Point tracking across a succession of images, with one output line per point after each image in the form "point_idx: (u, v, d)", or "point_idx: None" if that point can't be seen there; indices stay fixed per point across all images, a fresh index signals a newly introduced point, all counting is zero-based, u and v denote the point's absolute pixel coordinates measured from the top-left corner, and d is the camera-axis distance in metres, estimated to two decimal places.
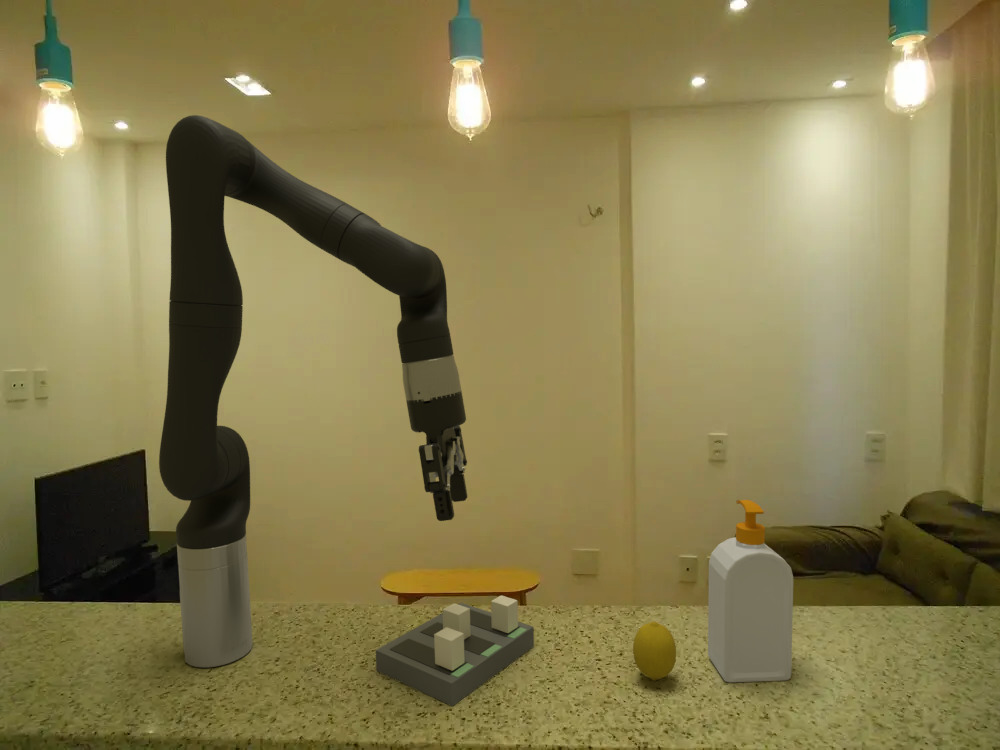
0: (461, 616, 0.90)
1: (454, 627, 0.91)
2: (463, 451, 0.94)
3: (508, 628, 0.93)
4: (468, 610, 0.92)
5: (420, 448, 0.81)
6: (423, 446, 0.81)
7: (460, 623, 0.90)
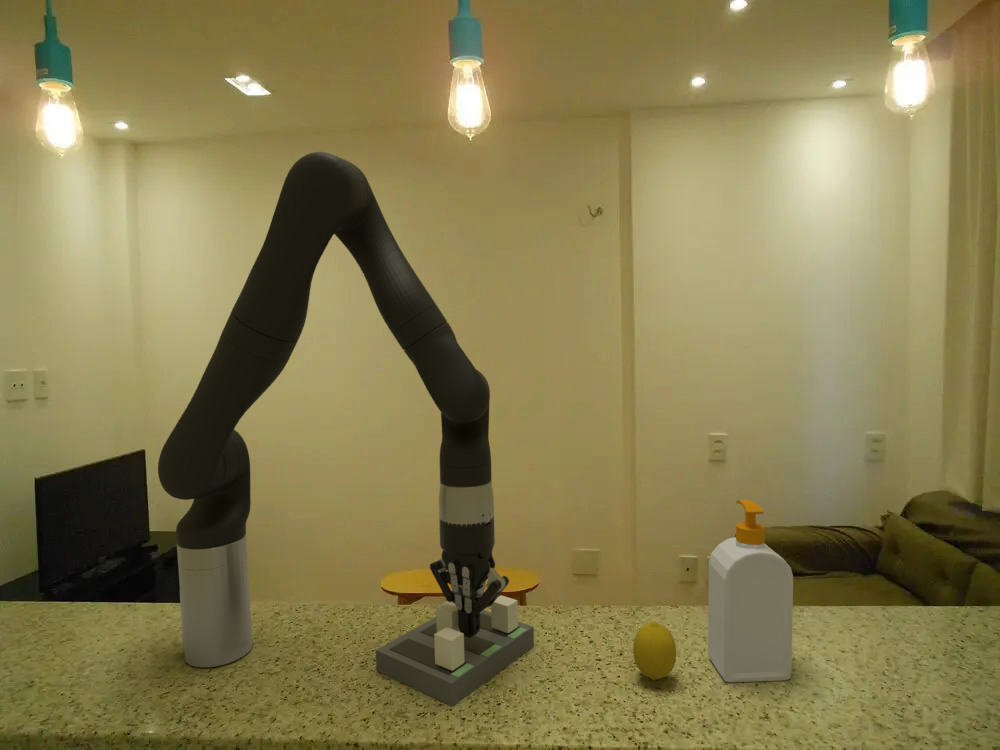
0: (454, 613, 0.91)
1: (447, 625, 0.91)
2: None
3: (508, 628, 0.93)
4: None
5: (498, 587, 0.85)
6: (500, 584, 0.85)
7: (453, 621, 0.91)
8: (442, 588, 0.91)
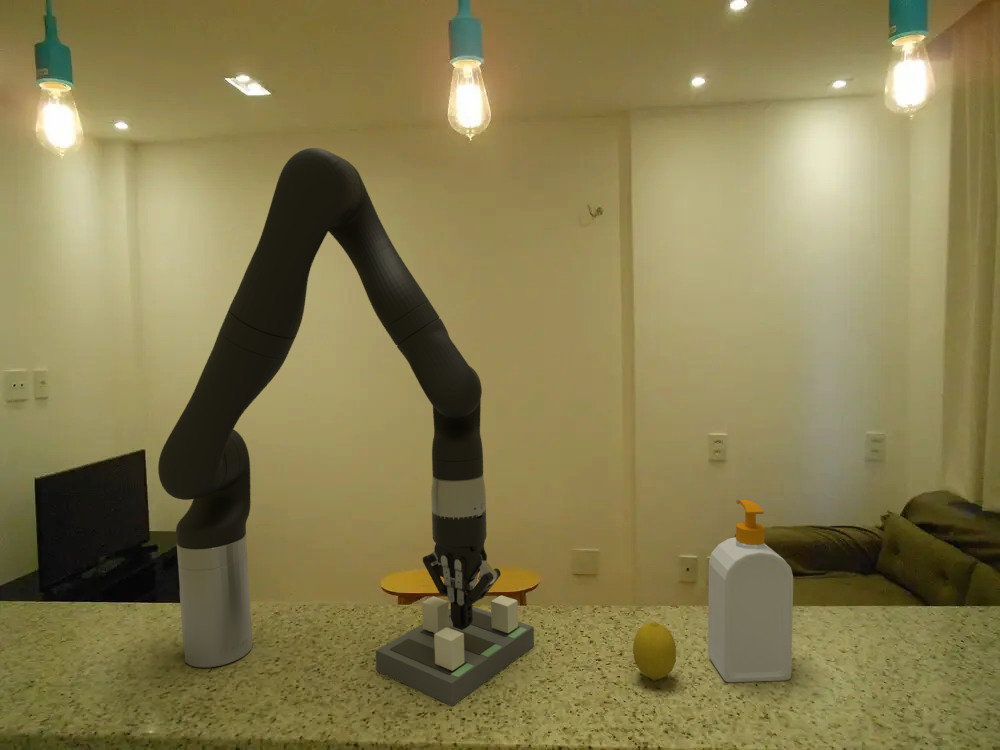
0: (439, 608, 0.93)
1: (433, 619, 0.93)
2: None
3: (508, 628, 0.93)
4: (447, 603, 0.94)
5: (490, 579, 0.86)
6: (492, 577, 0.87)
7: (438, 615, 0.93)
8: (435, 581, 0.92)
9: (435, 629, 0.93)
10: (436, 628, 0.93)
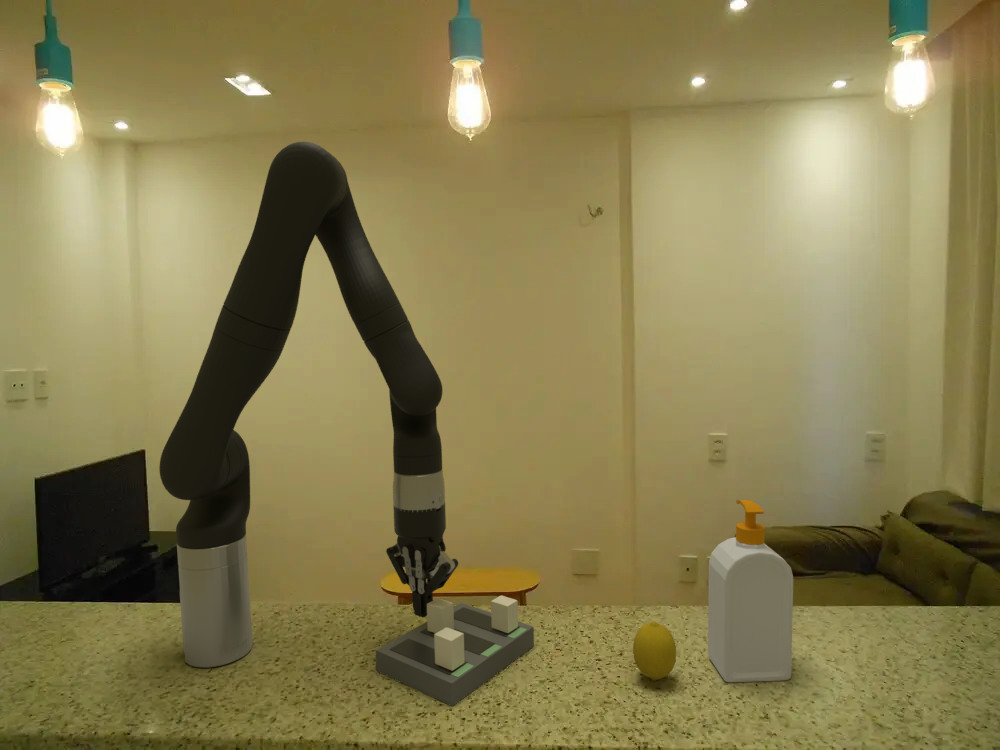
0: (444, 610, 0.92)
1: (437, 621, 0.93)
2: None
3: (508, 628, 0.93)
4: (452, 604, 0.94)
5: (448, 569, 0.91)
6: (449, 566, 0.91)
7: (443, 617, 0.92)
8: (397, 571, 0.97)
9: None
10: (441, 629, 0.92)
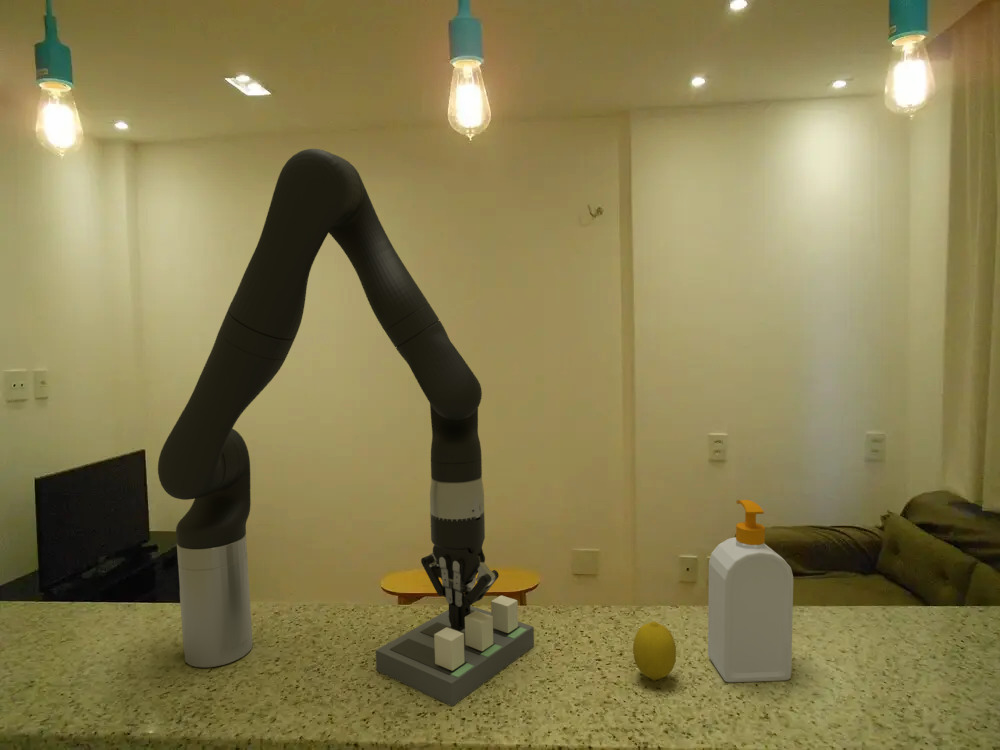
0: (484, 624, 0.88)
1: (476, 636, 0.88)
2: None
3: (508, 628, 0.93)
4: (491, 618, 0.89)
5: (488, 581, 0.87)
6: (490, 578, 0.87)
7: (483, 631, 0.88)
8: (433, 582, 0.93)
9: (479, 646, 0.88)
10: (480, 644, 0.88)
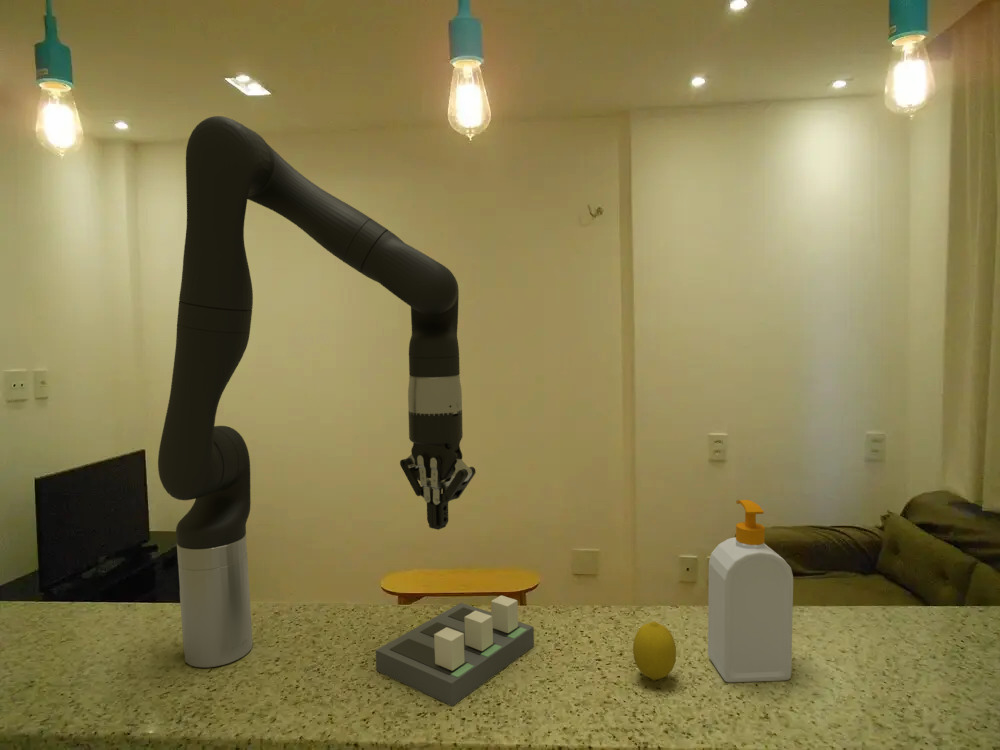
0: (483, 624, 0.88)
1: (476, 635, 0.88)
2: None
3: (508, 628, 0.93)
4: (491, 618, 0.89)
5: (465, 475, 0.87)
6: (466, 473, 0.88)
7: (482, 631, 0.88)
8: (411, 483, 0.93)
9: (478, 646, 0.88)
10: (480, 644, 0.88)
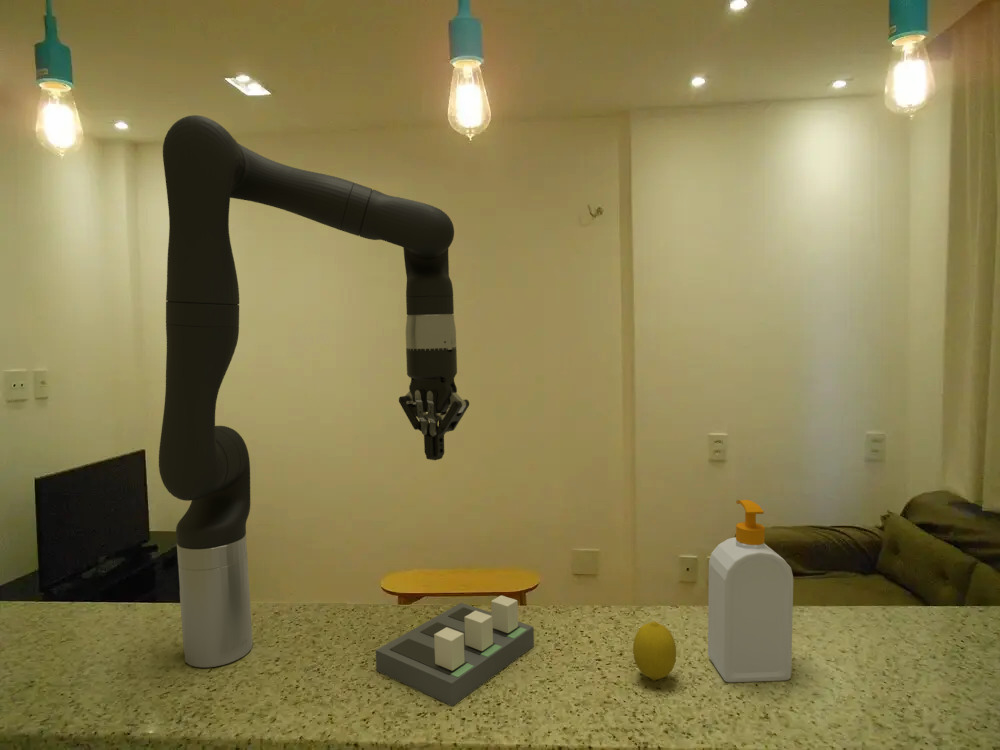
0: (483, 624, 0.88)
1: (476, 635, 0.88)
2: None
3: (508, 628, 0.93)
4: (491, 618, 0.89)
5: (459, 406, 0.93)
6: (460, 404, 0.94)
7: (482, 631, 0.88)
8: (410, 418, 1.00)
9: (478, 646, 0.88)
10: (480, 644, 0.88)
